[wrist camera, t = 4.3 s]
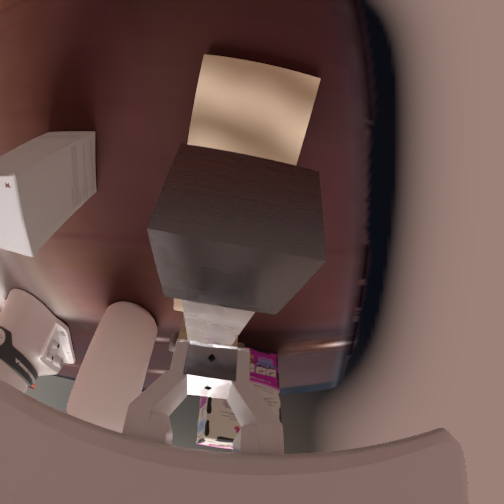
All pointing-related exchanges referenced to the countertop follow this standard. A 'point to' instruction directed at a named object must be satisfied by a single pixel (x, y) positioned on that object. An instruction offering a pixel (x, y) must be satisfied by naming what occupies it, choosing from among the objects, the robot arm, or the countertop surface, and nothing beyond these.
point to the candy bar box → (221, 415)
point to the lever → (234, 237)
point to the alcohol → (114, 366)
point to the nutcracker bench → (249, 117)
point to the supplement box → (44, 187)
